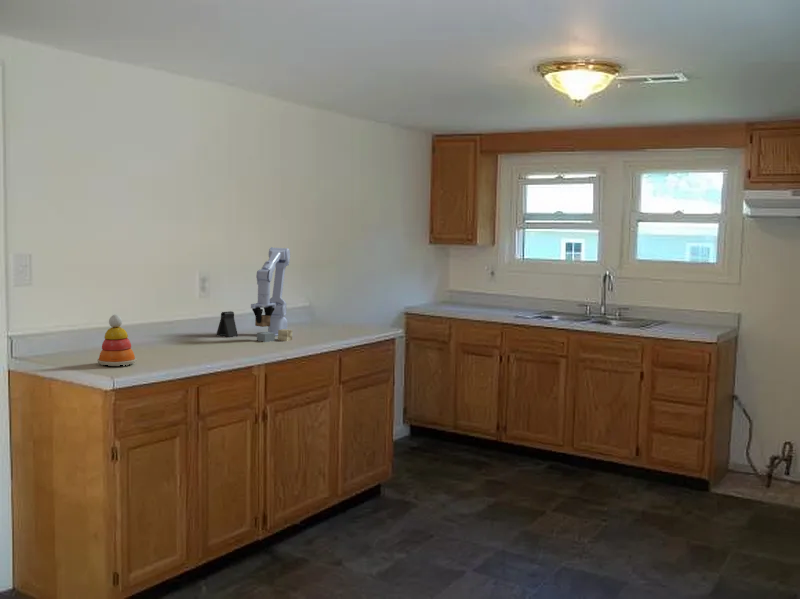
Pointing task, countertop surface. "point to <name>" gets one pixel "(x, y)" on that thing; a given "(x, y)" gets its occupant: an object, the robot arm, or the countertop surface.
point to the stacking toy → (116, 345)
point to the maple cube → (285, 335)
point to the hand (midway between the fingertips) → (263, 322)
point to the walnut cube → (263, 321)
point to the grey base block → (265, 336)
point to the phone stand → (227, 325)
